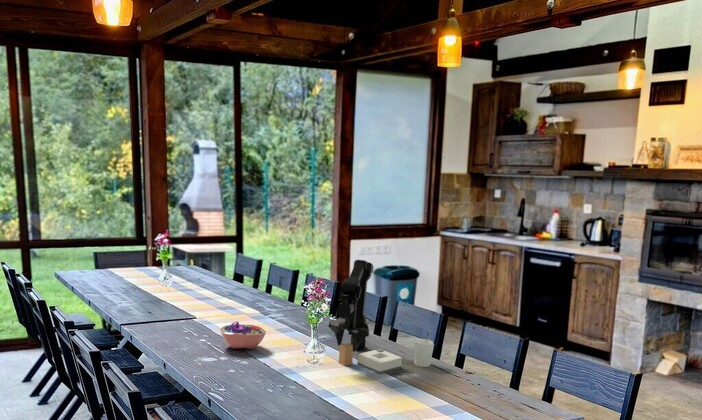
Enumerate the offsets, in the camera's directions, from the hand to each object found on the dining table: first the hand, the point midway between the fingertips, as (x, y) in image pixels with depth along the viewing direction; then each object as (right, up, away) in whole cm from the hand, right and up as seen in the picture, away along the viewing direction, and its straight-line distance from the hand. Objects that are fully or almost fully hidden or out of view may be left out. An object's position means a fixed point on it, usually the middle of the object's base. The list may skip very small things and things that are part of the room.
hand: (346, 348), depth 228 cm
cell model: (-46, -3, +11) cm, 47 cm away
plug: (0, -6, 0) cm, 6 cm away
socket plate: (+14, -7, 0) cm, 15 cm away
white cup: (+32, -8, +6) cm, 34 cm away
